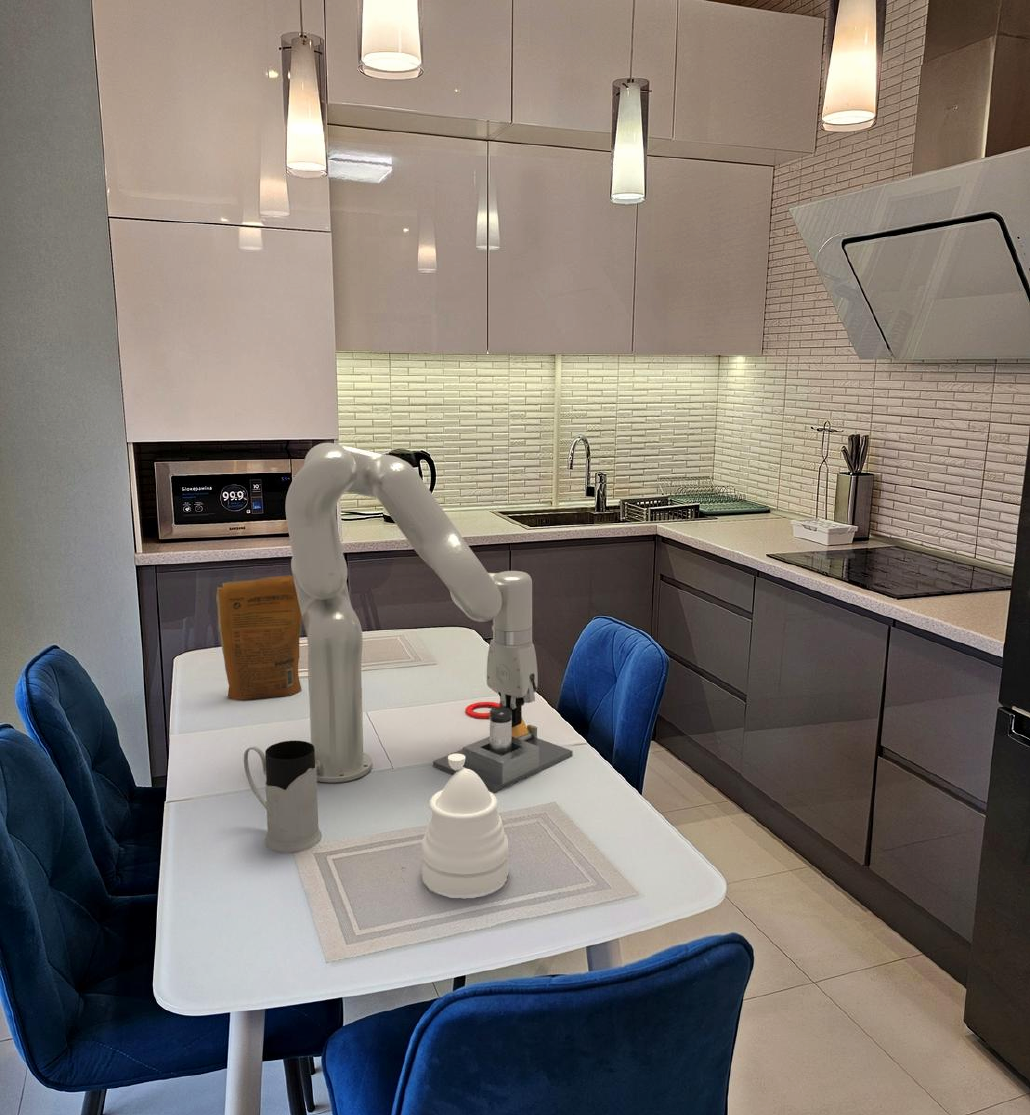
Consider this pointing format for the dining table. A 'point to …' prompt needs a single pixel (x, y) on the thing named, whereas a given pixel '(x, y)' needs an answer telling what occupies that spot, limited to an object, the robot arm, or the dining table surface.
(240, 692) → the pancake mix bag
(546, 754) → the plate
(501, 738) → the pin
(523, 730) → the tab
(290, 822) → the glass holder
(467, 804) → the honey pot
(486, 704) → the tow hook
